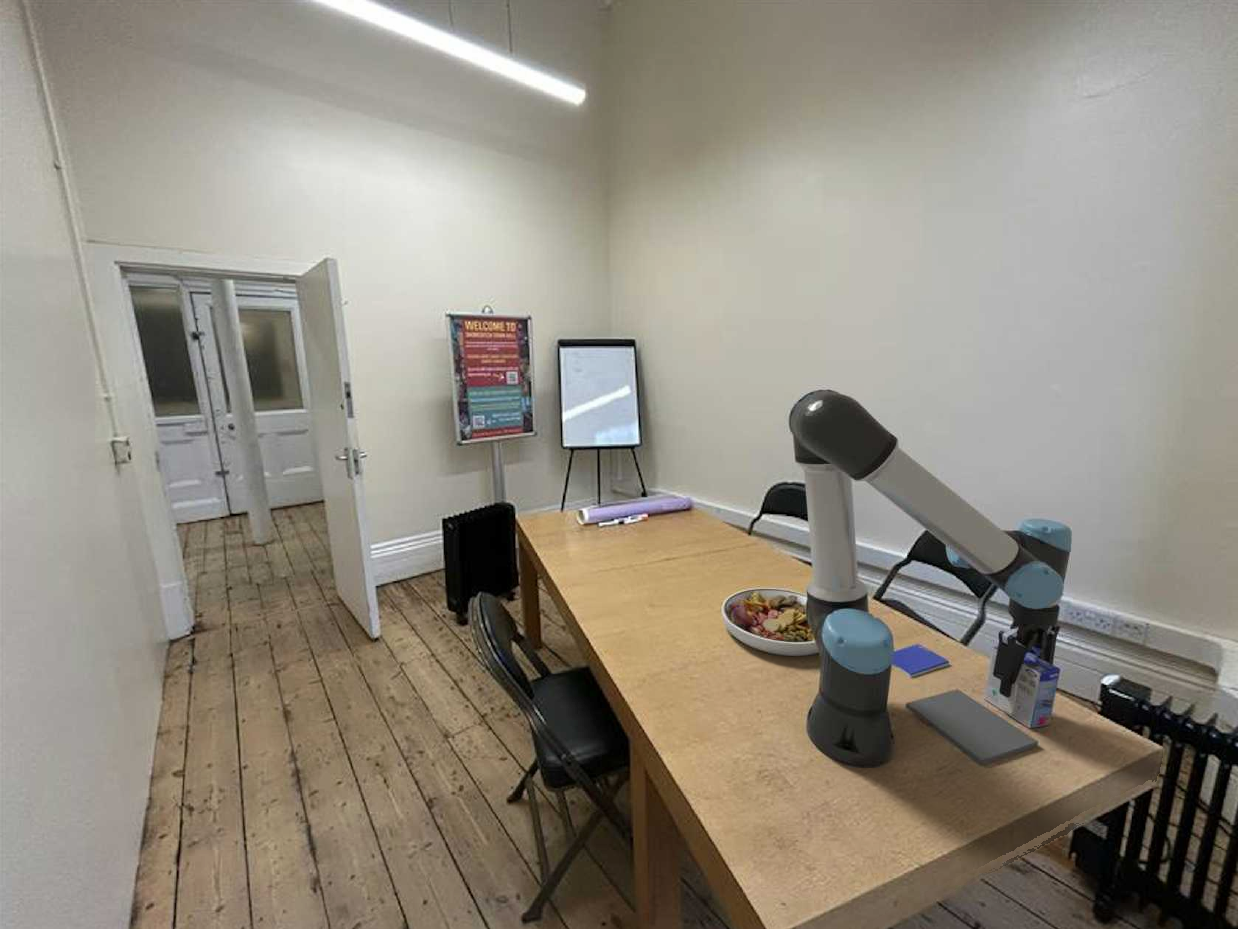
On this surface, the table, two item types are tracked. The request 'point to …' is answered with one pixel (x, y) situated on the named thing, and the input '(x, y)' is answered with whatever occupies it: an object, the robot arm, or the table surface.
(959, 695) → the rubber mat
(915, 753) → the table surface
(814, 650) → the bowl
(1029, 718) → the ink cartridge box
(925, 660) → the blue book
